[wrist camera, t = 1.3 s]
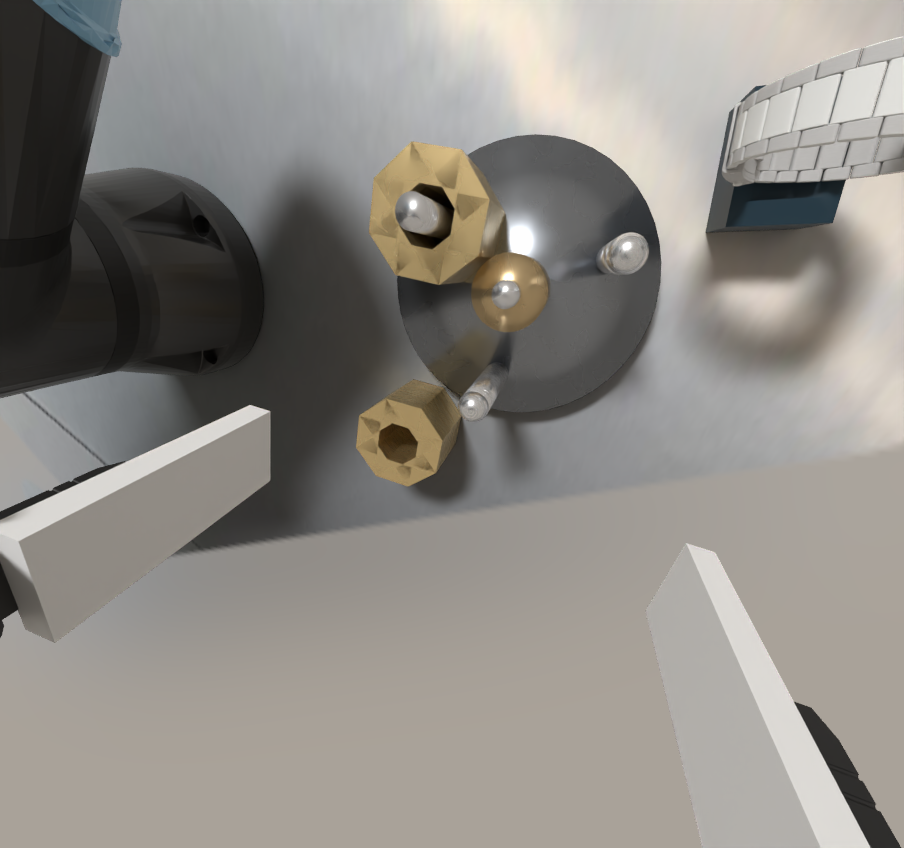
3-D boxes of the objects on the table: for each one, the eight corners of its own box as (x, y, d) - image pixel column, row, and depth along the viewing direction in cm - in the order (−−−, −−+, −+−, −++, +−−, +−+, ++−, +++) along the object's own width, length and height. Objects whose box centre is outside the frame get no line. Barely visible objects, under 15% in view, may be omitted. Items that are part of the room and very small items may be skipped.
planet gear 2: (383, 441, 33) (353, 468, 28) (392, 373, 30) (361, 391, 26) (451, 462, 32) (431, 494, 27) (466, 393, 29) (447, 416, 25)
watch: (842, 227, 20) (1100, 187, 10) (670, 233, 22) (749, 205, 12) (884, 93, 18) (1252, -115, 8) (690, 114, 20) (804, -33, 10)
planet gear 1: (401, 268, 26) (365, 268, 21) (414, 161, 23) (377, 135, 19) (488, 288, 25) (471, 292, 20) (513, 178, 22) (498, 155, 18)
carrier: (392, 373, 30) (325, 412, 22) (425, 123, 24) (347, 44, 15) (601, 431, 27) (615, 502, 19) (704, 166, 21) (794, 98, 13)
